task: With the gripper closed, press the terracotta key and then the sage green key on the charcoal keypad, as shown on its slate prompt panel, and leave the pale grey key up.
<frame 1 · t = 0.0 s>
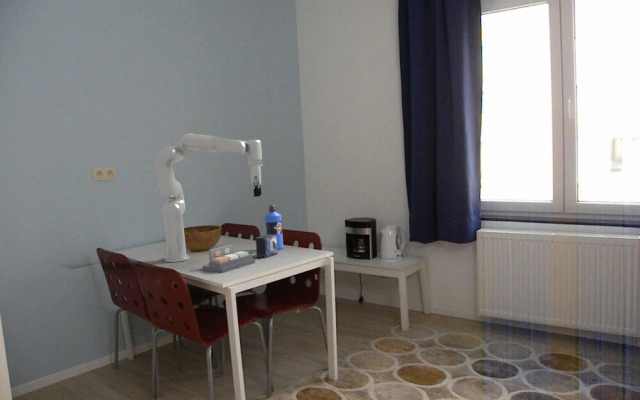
hand: (257, 195, 266), 31 cm above the table, tool pointing down, fingers open, 9 cm apart
sage key: (240, 254, 248), point 5 cm above the table, slide at 0.0 cm
grey key: (230, 257, 243), point 5 cm above the table, slide at 0.0 cm
keypad: (229, 266, 244), on the table
terracotta key: (220, 260, 237), point 5 cm above the table, slide at 0.0 cm
small box: (267, 256, 263), on the table
water bottle: (275, 249, 280), on the table
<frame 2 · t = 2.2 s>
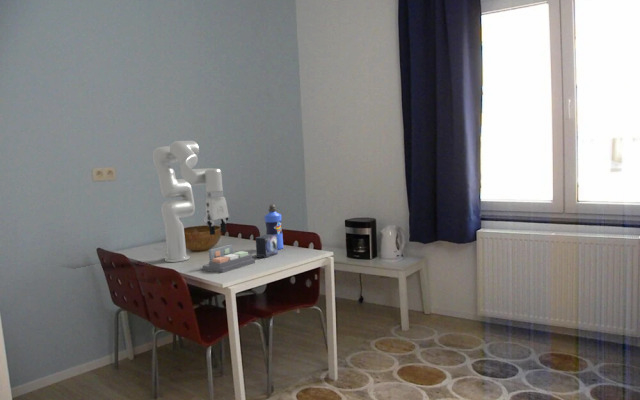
hand: (218, 232, 236), 18 cm above the table, tool pointing down, fingers open, 6 cm apart
nothing on the table moved.
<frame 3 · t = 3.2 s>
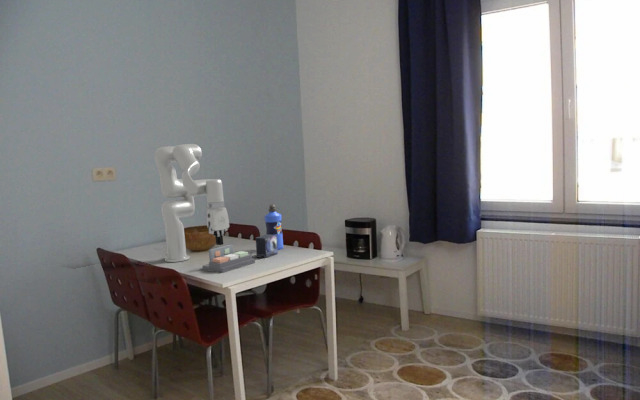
hand: (219, 244, 236), 12 cm above the table, tool pointing down, fingers closed
nothing on the table moved.
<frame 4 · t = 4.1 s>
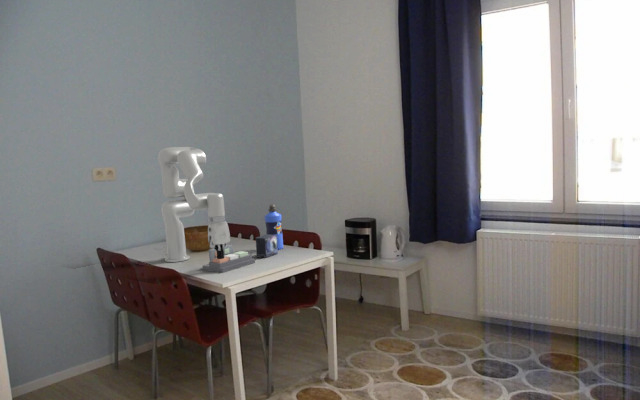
hand: (220, 258, 237), 5 cm above the table, tool pointing down, fingers closed
terracotta key: (220, 260, 237), point 4 cm above the table, slide at 0.1 cm, touching gripper
everything else where it was.
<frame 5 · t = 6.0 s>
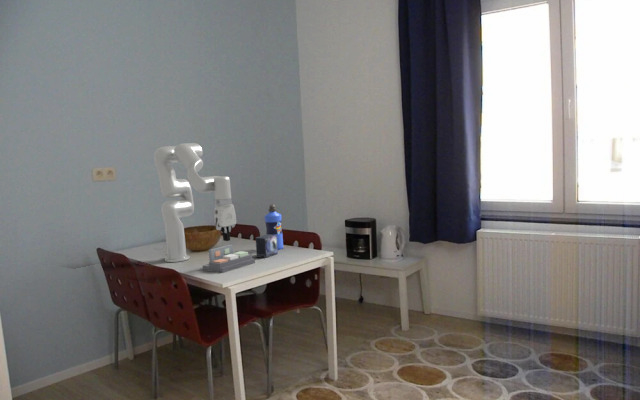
hand: (226, 240, 240), 13 cm above the table, tool pointing down, fingers closed
terracotta key: (220, 262, 238), point 3 cm above the table, slide at 1.1 cm
everything else where it was.
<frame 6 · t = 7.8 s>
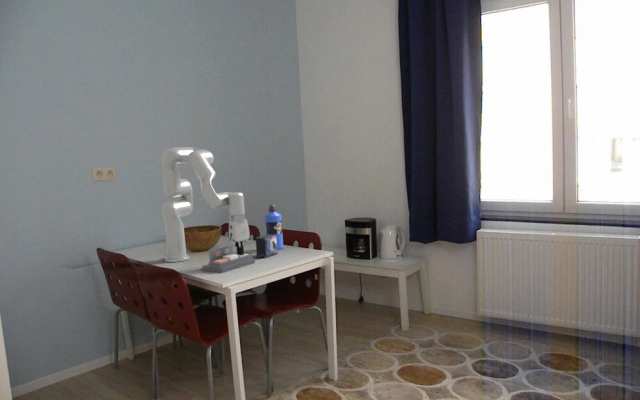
hand: (240, 254, 248), 5 cm above the table, tool pointing down, fingers closed
sage key: (240, 256, 248), point 3 cm above the table, slide at 1.0 cm, touching gripper
everything else where it was.
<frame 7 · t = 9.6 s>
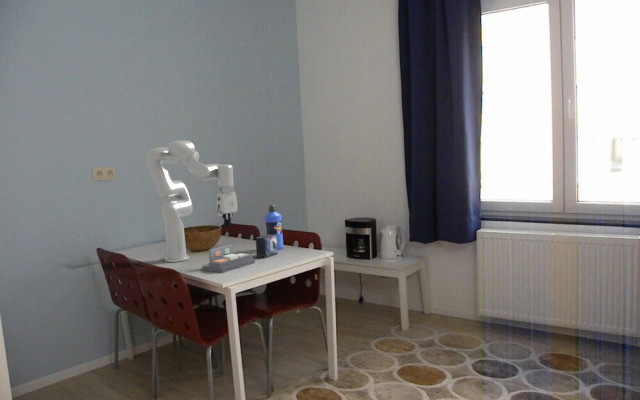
hand: (227, 226, 248), 18 cm above the table, tool pointing down, fingers closed
sage key: (240, 256, 248), point 3 cm above the table, slide at 1.1 cm
everything else where it was.
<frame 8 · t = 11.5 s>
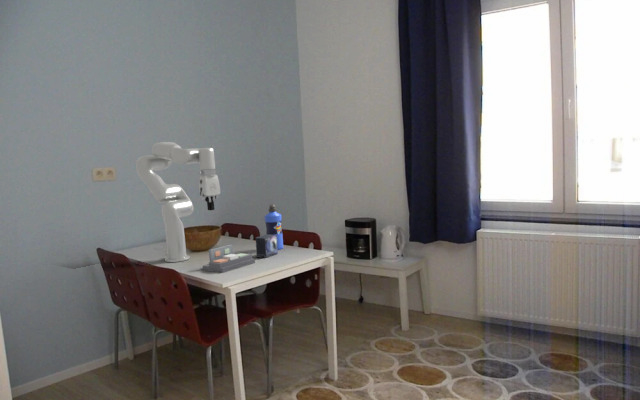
hand: (211, 209, 249), 27 cm above the table, tool pointing down, fingers closed
nothing on the table moved.
at the end: terracotta key slide at 1.1 cm; sage key slide at 1.1 cm; grey key slide at 0.0 cm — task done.
